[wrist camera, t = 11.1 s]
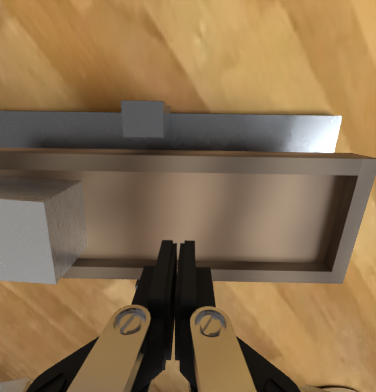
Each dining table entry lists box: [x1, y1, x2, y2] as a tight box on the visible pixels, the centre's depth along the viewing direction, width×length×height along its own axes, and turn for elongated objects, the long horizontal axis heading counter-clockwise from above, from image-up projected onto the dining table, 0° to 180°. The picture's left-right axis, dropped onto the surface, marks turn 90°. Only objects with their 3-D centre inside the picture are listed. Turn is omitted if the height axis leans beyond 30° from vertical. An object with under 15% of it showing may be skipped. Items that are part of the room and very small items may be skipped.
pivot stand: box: [0, 101, 342, 289], centre depth 18 cm, size 31×15×7 cm, turn 89°
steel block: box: [0, 175, 87, 284], centre depth 13 cm, size 8×5×4 cm, turn 86°
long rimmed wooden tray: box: [0, 147, 376, 284], centre depth 16 cm, size 28×9×2 cm, turn 89°
